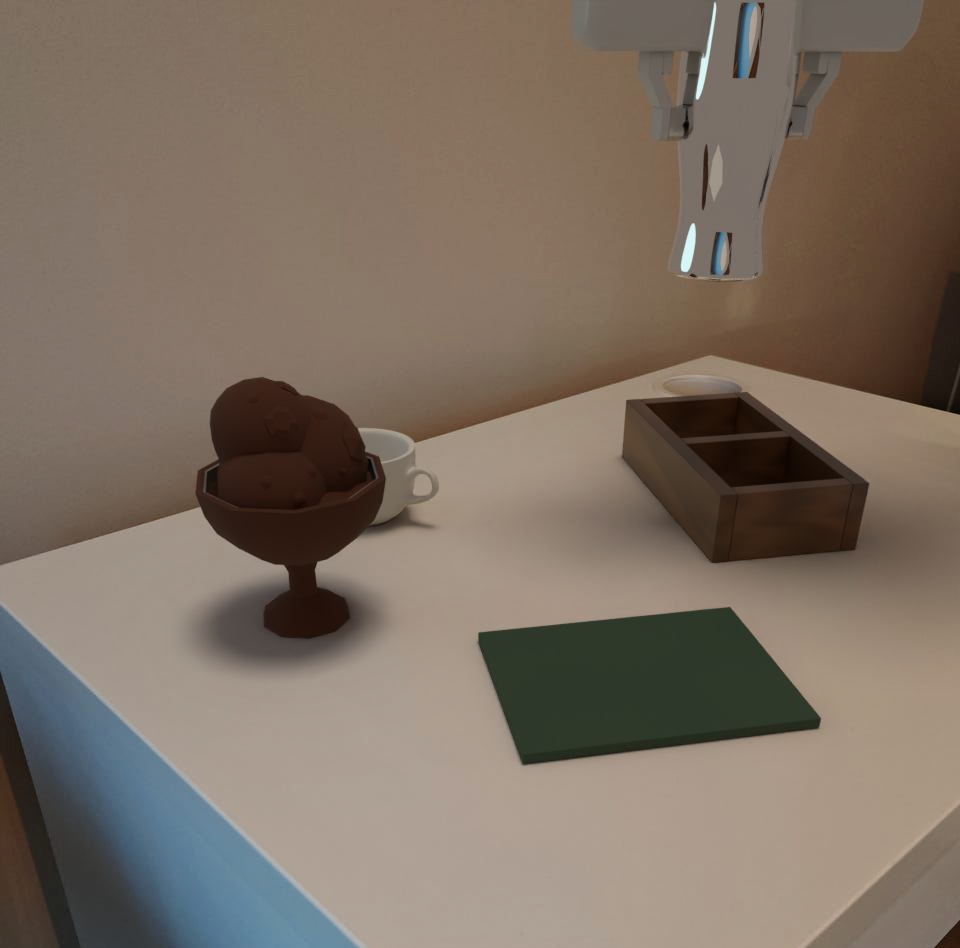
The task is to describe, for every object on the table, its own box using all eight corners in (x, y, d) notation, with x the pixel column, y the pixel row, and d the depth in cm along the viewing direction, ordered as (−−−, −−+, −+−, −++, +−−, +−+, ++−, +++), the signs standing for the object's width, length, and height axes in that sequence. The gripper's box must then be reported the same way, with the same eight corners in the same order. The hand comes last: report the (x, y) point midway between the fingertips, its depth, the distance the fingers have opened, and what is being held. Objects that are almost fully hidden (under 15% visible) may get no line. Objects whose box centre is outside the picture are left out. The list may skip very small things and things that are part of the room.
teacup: (294, 524, 74) (287, 455, 71) (346, 487, 80) (341, 422, 77) (415, 548, 70) (412, 477, 68) (460, 507, 76) (459, 440, 74)
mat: (729, 614, 62) (730, 606, 62) (819, 727, 52) (821, 718, 52) (478, 640, 60) (478, 632, 60) (522, 764, 50) (523, 754, 50)
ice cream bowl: (295, 684, 56) (264, 426, 48) (183, 616, 62) (139, 380, 55) (429, 613, 63) (421, 377, 55) (315, 559, 69) (293, 341, 61)
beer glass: (641, 274, 64) (664, -3, 56) (688, 257, 69) (715, -1, 61) (744, 288, 61) (783, -5, 53) (785, 269, 66) (827, -2, 58)
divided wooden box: (739, 447, 87) (747, 391, 84) (855, 549, 70) (869, 483, 68) (621, 456, 85) (626, 399, 83) (711, 562, 69) (720, 495, 66)
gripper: (595, -164, 49) (579, 147, 57) (970, -150, 53) (910, 142, 60) (563, -146, 55) (552, 136, 62) (906, -134, 58) (857, 133, 65)
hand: (731, 139), depth 61 cm, fingers closed on beer glass, 7 cm apart
